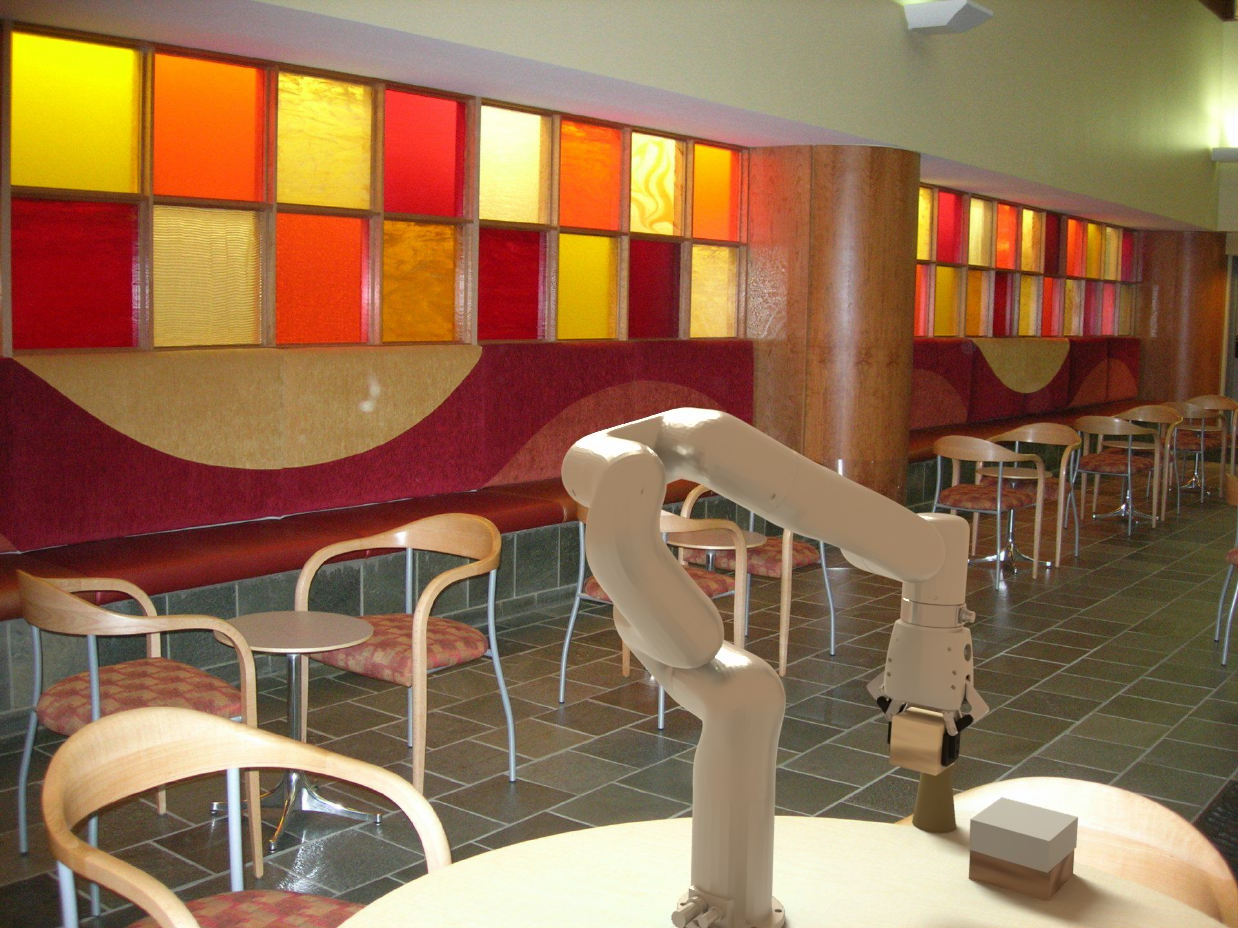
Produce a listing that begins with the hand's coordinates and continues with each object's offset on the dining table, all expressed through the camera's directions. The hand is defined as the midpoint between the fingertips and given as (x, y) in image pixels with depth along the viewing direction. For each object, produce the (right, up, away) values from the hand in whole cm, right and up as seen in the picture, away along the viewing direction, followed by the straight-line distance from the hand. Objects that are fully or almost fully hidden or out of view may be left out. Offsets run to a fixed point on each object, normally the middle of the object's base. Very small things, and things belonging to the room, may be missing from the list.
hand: (922, 755), depth 148 cm
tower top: (+14, -13, +4) cm, 19 cm away
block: (0, -1, 0) cm, 1 cm away
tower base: (+14, -17, +4) cm, 22 cm away
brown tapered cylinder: (+7, -15, +21) cm, 26 cm away
